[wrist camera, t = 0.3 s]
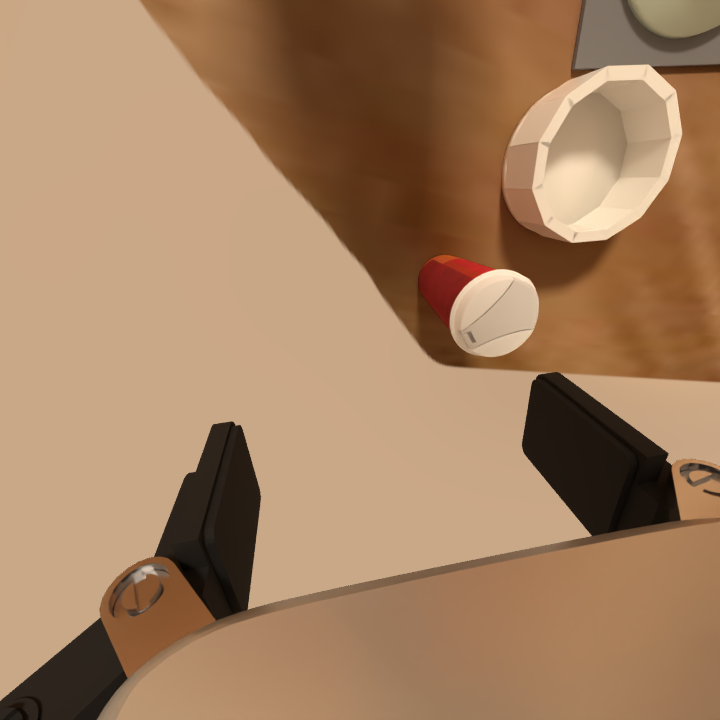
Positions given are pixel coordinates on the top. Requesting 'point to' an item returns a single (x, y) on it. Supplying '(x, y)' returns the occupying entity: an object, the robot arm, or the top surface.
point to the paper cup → (480, 304)
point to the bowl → (592, 154)
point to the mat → (635, 41)
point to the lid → (676, 16)
